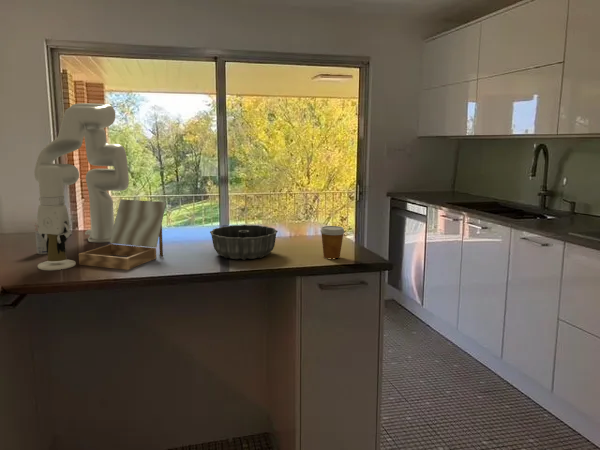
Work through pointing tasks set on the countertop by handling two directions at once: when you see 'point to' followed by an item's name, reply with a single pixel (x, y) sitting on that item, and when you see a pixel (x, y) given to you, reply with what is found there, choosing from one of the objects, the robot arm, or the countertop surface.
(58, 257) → the cork
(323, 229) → the disposable coffee cup
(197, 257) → the countertop surface
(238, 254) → the bundt pan
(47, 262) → the saucer
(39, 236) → the energy drink
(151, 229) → the cold frame
